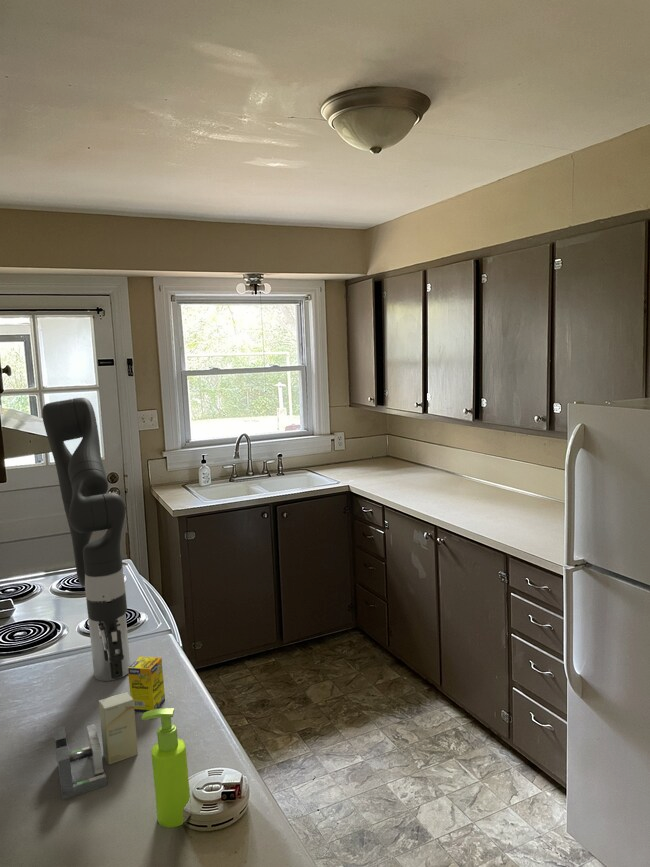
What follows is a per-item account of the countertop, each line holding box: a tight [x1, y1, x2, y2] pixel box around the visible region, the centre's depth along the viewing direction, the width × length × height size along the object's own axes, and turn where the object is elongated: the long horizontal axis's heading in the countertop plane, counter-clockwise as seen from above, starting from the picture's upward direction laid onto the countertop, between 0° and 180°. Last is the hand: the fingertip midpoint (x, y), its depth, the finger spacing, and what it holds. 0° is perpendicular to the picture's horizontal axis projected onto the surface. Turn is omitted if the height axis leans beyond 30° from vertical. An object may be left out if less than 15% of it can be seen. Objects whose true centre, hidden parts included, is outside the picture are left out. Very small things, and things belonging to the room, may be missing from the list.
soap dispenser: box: [141, 707, 191, 829], centre depth 113 cm, size 6×7×20 cm
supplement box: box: [127, 656, 166, 713], centre depth 151 cm, size 6×6×11 cm
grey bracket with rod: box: [53, 726, 108, 800], centre depth 127 cm, size 12×8×8 cm, turn 27°
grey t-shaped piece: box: [69, 723, 104, 777], centre depth 127 cm, size 10×8×6 cm
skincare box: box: [98, 691, 139, 765], centre depth 133 cm, size 6×4×12 cm
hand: (113, 668), depth 131 cm, fingers open, 8 cm apart
